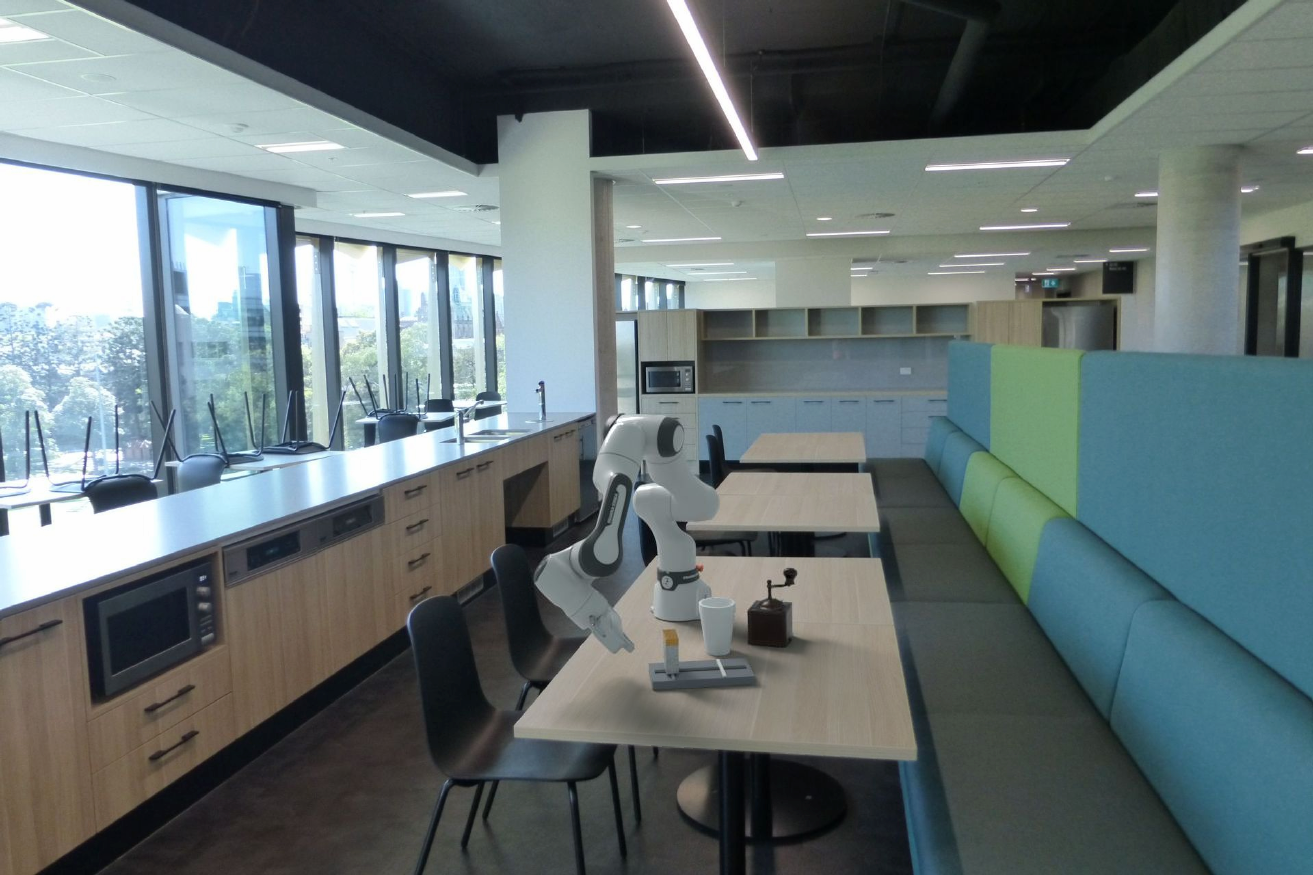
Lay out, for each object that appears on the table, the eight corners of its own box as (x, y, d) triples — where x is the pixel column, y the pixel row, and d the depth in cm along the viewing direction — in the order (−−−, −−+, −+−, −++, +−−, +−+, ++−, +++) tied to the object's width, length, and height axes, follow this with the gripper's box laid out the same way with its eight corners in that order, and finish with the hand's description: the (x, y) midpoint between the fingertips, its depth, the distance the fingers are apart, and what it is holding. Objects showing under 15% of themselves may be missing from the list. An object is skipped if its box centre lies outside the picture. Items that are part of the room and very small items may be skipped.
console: (652, 689, 209) (652, 680, 209) (648, 671, 221) (648, 662, 221) (754, 684, 211) (754, 674, 211) (745, 665, 223) (745, 656, 223)
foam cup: (706, 659, 228) (705, 609, 227) (694, 647, 237) (693, 599, 235) (741, 655, 230) (740, 605, 229) (728, 643, 239) (728, 595, 238)
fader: (666, 674, 211) (665, 639, 210) (663, 664, 218) (662, 629, 217) (679, 674, 212) (678, 638, 211) (676, 663, 219) (675, 629, 218)
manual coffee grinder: (788, 648, 235) (787, 581, 233) (746, 644, 238) (745, 578, 236) (799, 629, 249) (799, 566, 247) (760, 626, 253) (759, 563, 251)
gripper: (600, 614, 202) (644, 654, 203) (598, 589, 222) (639, 625, 224) (580, 634, 202) (625, 674, 203) (580, 607, 222) (621, 644, 224)
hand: (632, 648), depth 214 cm, fingers closed
